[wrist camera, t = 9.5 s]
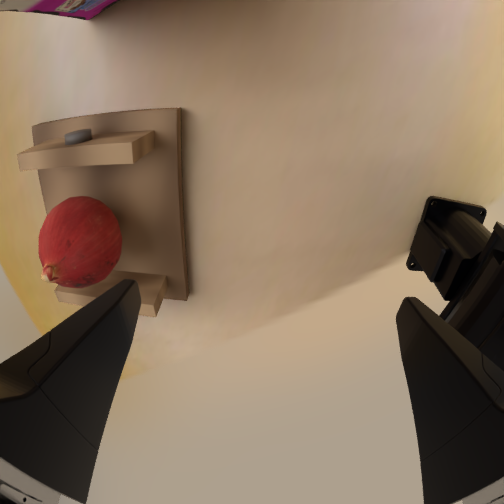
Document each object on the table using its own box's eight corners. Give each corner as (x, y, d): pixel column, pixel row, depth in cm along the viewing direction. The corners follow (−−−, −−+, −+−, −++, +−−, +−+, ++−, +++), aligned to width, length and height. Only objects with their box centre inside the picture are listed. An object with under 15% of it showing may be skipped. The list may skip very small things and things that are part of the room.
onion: (152, 234, 21) (108, 309, 14) (99, 258, 22) (52, 326, 16) (112, 166, 18) (43, 219, 12) (61, 199, 20) (-2, 256, 13)
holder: (180, 107, 17) (157, 117, 13) (189, 293, 25) (177, 331, 21) (39, 123, 17) (1, 138, 13) (72, 279, 25) (51, 310, 22)
